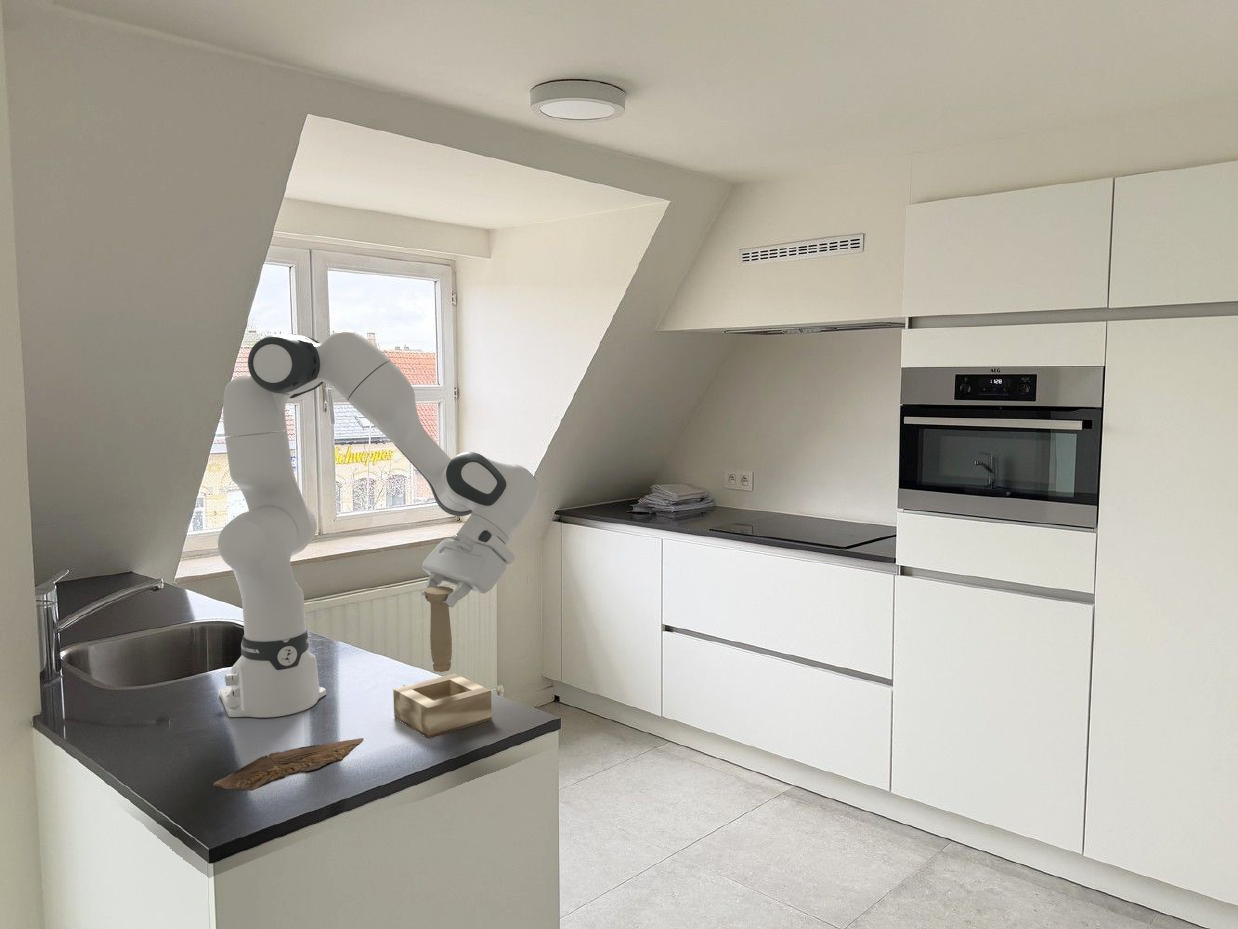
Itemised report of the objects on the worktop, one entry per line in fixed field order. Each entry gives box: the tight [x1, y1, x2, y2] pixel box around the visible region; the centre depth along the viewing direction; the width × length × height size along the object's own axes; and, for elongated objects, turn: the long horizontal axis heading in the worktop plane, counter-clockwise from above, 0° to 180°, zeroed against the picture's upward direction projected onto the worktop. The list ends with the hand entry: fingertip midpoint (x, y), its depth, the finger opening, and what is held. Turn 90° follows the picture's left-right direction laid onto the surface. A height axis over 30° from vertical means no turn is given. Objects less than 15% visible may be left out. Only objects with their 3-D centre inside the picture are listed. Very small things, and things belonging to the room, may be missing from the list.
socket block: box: [392, 673, 493, 739], centre depth 171 cm, size 13×13×6 cm
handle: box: [424, 585, 455, 673], centre depth 170 cm, size 5×6×15 cm
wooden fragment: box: [212, 737, 364, 791], centre depth 153 cm, size 26×11×1 cm, turn 132°
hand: (436, 601), depth 169 cm, fingers closed on handle, 6 cm apart
